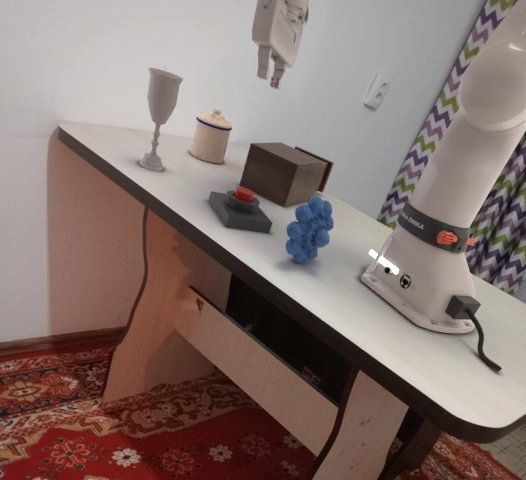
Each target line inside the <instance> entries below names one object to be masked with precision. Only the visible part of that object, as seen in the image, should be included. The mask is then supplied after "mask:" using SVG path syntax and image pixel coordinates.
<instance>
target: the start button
mask: <svg viewBox="0 0 526 480" xmlns="http://www.w3.org/2000/svg"><path fill="white" fill-rule="evenodd" d="M234 191H235V194H234V197H236V198H237V199H239V200H242V201H246V202H252V200H253V197H255V193H254V192H253V191H251V190H249V189H247V188H244V187H242V186H237V187H236V188H235V190H234Z"/></svg>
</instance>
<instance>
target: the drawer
mask: <svg viewBox="0 0 526 480" xmlns="http://www.w3.org/2000/svg"><path fill="white" fill-rule="evenodd" d="M293 148H294V149H297V150H299V151H301V152H303V153H305V154H308V155H310V156H312V157H314V158H317V159H319V160H321V161H323V162H324V164H323V166H322V169H321V172H320V175H319V177H318V180H317V183H316V186H315V188H314V191H313V193H315V192H319V193H324V192H325V188H326V186H327V184H328V181H329V178H330V175H331V172H332V169H333V167H334V165H335V163H334V161H331V160H328V159H327V158H324V157H322V156H320V155H318V154H316V153H313V152H312V151H309V150H306V149H304V148H301V147H299V146H294V147H293Z"/></svg>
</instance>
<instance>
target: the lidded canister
mask: <svg viewBox="0 0 526 480" xmlns="http://www.w3.org/2000/svg"><path fill="white" fill-rule="evenodd" d="M195 119H196V123H195V128H194V132H193V138H192V143H191V147H190V154H191V155H192V156H193V157H195V158H196V159H198V160H201V161H204V162H206V163H212V164H222V163H223V162H224V159H225V156H226V151H227V147H228V143H229V139H230V134H231V131H232V130H233V128H232V127H233V126H232V124H231V123H230V122H229V121H228V120H227V119H226V118H225V117H224V116H223V115H222V110H220V109H219V108H216V107H215V108H213V109H212V111H207V112H206V113H199V114H197V116H196V117H195Z"/></svg>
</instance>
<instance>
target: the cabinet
mask: <svg viewBox="0 0 526 480" xmlns="http://www.w3.org/2000/svg"><path fill="white" fill-rule="evenodd" d="M294 148H295V147H292V146H290V145H287V144H286V143H283V142H281V141H280V142H279V141H278V142H250V144H249V148H248V152H247V155H246V160H245V163H244V167H243V170H242V174H241V179H240V182H239V187H243V188H247V189H249V190H251V191H253V192H254V194H257V195H258V196H261V197H263V198H265V199H267V200H269V201H271V202H273V203H274V204H277V205H278V206H281V207H283V208H286V207H287V208H288V207H290V206H294V205H298V204H301V203H305V202H308V200H309V199H310V198H312V197H313V194H314V192H313V191H314V188H315V186H316V183H317V180H318V177H319V175H320V172H321V169H322V166H323V164H324V162H323V161H321V160H319V159H317V158H314V157H312V156H310V155H308V154H305V153H303V152H301V151H299V150H297V149H294Z"/></svg>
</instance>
